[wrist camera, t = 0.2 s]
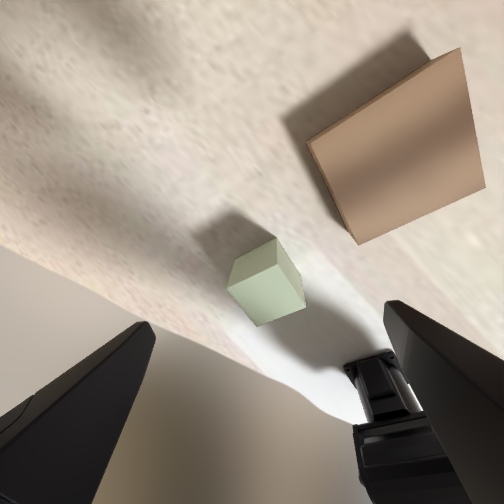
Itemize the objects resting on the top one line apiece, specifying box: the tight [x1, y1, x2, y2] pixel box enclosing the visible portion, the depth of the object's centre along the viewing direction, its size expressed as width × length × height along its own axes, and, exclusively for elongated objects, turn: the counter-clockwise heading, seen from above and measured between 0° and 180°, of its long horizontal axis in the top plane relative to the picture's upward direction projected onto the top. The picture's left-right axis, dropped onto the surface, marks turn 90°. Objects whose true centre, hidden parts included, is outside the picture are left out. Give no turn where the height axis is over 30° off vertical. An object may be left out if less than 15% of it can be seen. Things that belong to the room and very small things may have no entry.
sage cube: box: [226, 237, 306, 327], centre depth 21 cm, size 5×5×5 cm
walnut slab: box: [306, 47, 486, 245], centre depth 17 cm, size 9×9×3 cm
